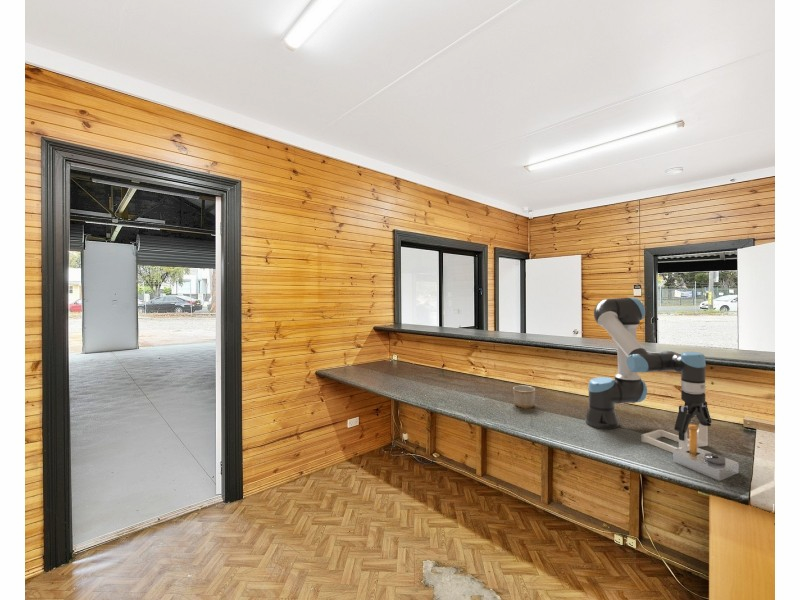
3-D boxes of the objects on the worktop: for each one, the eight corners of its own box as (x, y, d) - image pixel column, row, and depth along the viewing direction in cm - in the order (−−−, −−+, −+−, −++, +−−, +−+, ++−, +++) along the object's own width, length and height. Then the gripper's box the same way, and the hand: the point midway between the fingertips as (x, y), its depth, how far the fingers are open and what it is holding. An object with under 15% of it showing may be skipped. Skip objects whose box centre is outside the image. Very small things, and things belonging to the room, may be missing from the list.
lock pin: (686, 461, 149) (686, 425, 148) (691, 459, 150) (691, 423, 149) (695, 464, 146) (695, 428, 145) (700, 463, 147) (700, 426, 146)
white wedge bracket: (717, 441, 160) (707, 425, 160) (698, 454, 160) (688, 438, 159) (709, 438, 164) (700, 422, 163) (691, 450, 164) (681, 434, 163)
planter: (513, 408, 218) (512, 391, 217) (513, 401, 230) (513, 384, 229) (535, 409, 214) (535, 392, 213) (535, 402, 226) (534, 385, 225)
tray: (641, 442, 169) (641, 434, 168) (660, 436, 173) (660, 429, 173) (678, 457, 154) (678, 449, 153) (698, 450, 158) (698, 442, 158)
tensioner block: (672, 463, 149) (672, 445, 149) (691, 456, 154) (691, 439, 153) (719, 483, 134) (719, 463, 134) (738, 475, 139) (738, 455, 138)
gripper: (683, 399, 138) (684, 455, 139) (722, 389, 147) (722, 441, 148) (663, 393, 145) (663, 446, 146) (701, 384, 154) (701, 434, 155)
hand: (693, 444), depth 147 cm, fingers open, 12 cm apart
